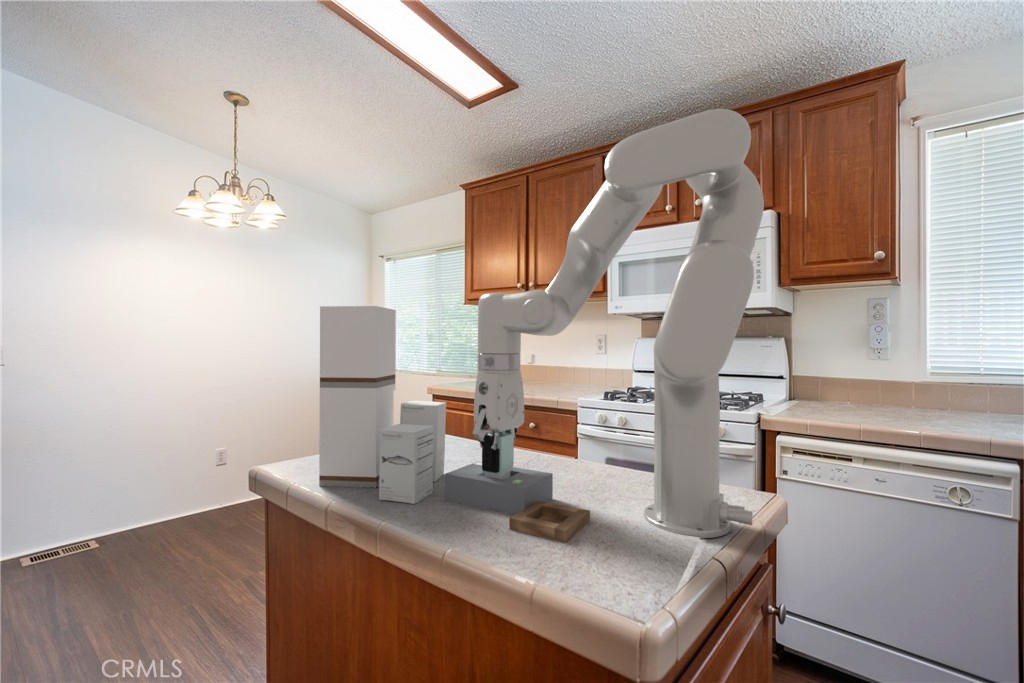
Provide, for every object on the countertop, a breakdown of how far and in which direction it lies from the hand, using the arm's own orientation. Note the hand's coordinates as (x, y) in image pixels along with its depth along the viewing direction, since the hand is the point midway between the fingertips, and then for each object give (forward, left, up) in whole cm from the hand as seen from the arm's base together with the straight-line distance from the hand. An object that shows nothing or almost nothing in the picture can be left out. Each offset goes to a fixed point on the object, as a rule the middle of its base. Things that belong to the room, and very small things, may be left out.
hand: (497, 467), depth 82 cm
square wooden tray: (-13, +6, -6) cm, 16 cm away
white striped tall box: (+32, +3, -6) cm, 33 cm away
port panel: (0, 0, -6) cm, 6 cm away
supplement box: (+16, +6, -6) cm, 18 cm away
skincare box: (+22, -5, -6) cm, 23 cm away
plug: (0, 0, -2) cm, 2 cm away
